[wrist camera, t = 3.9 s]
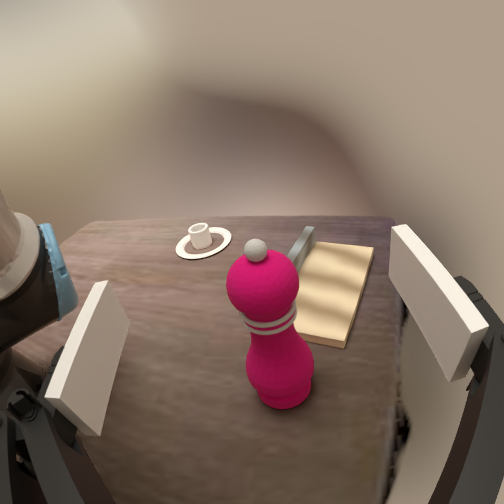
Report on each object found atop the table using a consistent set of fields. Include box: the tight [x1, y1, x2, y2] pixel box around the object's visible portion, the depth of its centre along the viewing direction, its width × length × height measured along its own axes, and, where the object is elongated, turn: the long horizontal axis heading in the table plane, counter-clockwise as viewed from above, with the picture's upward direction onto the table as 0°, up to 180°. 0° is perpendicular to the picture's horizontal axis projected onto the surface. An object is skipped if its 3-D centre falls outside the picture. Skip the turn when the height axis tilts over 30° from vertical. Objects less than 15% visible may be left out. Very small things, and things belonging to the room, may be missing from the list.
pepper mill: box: [226, 239, 314, 409], centre depth 30 cm, size 7×7×20 cm
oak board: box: [287, 226, 373, 349], centre depth 47 cm, size 21×12×4 cm, turn 153°
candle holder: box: [176, 223, 231, 259], centre depth 66 cm, size 12×12×4 cm
